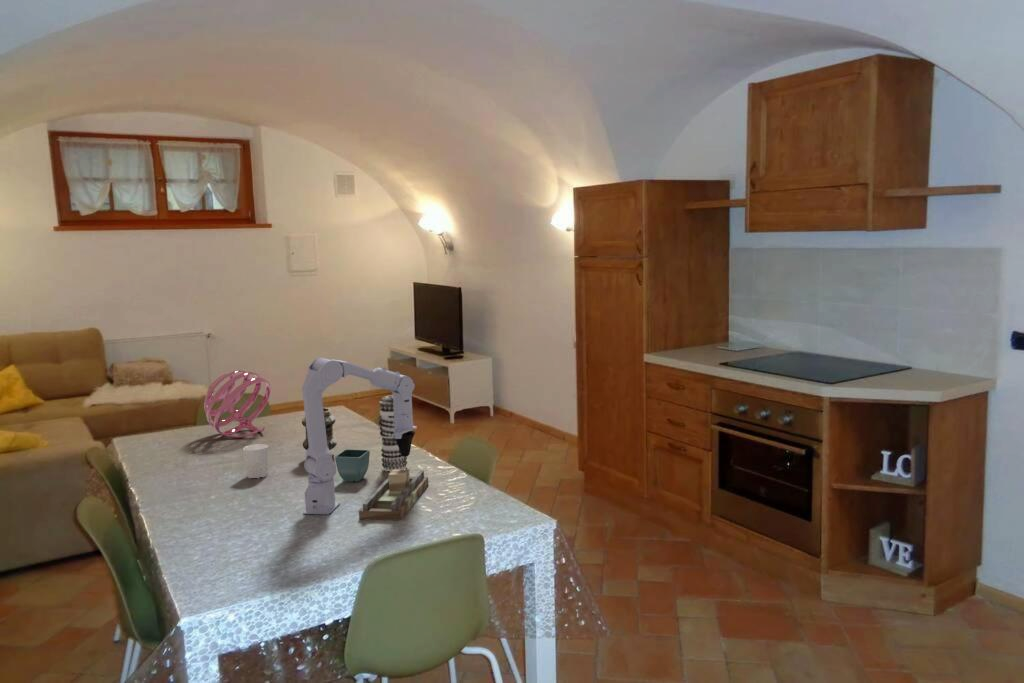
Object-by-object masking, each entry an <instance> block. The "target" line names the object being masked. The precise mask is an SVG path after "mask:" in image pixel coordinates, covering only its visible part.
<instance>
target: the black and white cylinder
mask: <svg viewBox="0 0 1024 683" xmlns="http://www.w3.org/2000/svg"><path fill="white" fill-rule="evenodd" d="M378 402H379V408H380V410H379V414H380V415H378V420H379V421H378V424H379V431H380V432H379V434H380V438H381V441H382V443H381V449H380V451H381V456H382V458H381V462H382V463H381V466H382V468H381V469H382V471H384V470H385V471H384V472H387V471H390V472H391V471H392V470H393V469H394V470H404V469H405V470H407V469H406V468H408V461H407V460H408V456H407V457H402V456H401V454H400V450H399V447H398V444H397V442H396V441H395V439H394V433H395V431H394V427H395V424H394V406H393V394H391V395H384V396H383V397H382V398H381V400H379V401H378ZM390 472H389V473H390Z"/></svg>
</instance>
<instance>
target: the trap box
mask: <svg viewBox="0 0 1024 683" xmlns="http://www.w3.org/2000/svg"><path fill="white" fill-rule="evenodd" d="M424 472H425V471H424V470H419V471H418V473H416V474H415V476H409V477H410V483H409V484H408V485H407V487H406V488H405V489H404V490H403V491H392V490H389V476H388V477H387V478H386V479H385V480H384V481H383V483H381V485H380V486H378V487H377V489H376V490H374V492H373V493H372V494H371V495H370V496H369V497H368V498H367V499H366V500H365V501H364V502H363V503H362V507H361V508H360V509H359V510H358V520H363V519H370V520H369V521H372V520H373V521H401V520H402V519H403V518H404V516H406V514H407V513H408V511H409V510H410V509H411V508H412V506H413V505H414V503H415V502H416V501H417V500H418V499H419V497H420V496H421V495H422V494H423V492H424V491H425V490H426V488H427V487H428V486H429V476H425V473H424ZM427 485H428V486H427ZM426 486H427V487H426ZM423 490H424V491H423ZM422 491H423V492H422ZM420 494H421V495H420ZM419 495H420V496H419ZM417 498H418V499H417Z"/></svg>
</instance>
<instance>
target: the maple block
mask: <svg viewBox="0 0 1024 683" xmlns="http://www.w3.org/2000/svg"><path fill="white" fill-rule="evenodd" d="M388 477H389V490H392V491H403V490H404V489H405V488H406V487H407V485H408V484H409V483H410V477H411V476H410V469H405V470H394V469H393V470H392V471H391V472H389V473H388Z"/></svg>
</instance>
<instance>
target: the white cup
mask: <svg viewBox="0 0 1024 683" xmlns="http://www.w3.org/2000/svg"><path fill="white" fill-rule="evenodd" d="M242 448H243V449H242V451H243V457H244V465H245V470H246V476H247V478H248V479H251V478H257V479H261V478H260V477H262V478H265V477H267V476H268V475H269V445H268V444H264V443H263V444H262V443H257V444H255V443H254V444H249V445H247V446H244V447H242Z"/></svg>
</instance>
